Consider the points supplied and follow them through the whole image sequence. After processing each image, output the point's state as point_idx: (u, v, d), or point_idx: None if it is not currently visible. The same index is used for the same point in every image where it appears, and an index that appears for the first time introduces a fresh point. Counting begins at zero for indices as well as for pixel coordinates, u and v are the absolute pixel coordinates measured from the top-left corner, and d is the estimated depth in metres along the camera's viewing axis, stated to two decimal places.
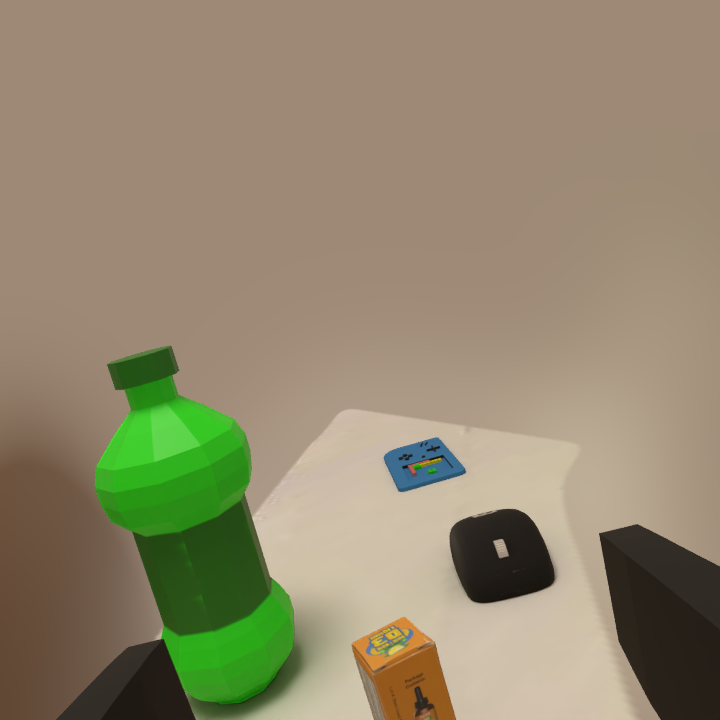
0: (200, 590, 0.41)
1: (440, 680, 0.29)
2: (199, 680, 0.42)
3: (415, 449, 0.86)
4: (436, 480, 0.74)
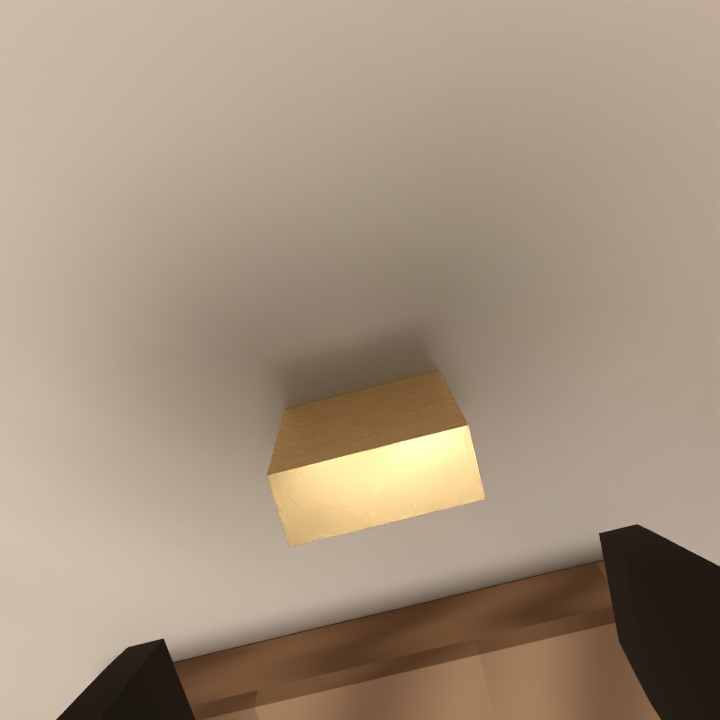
0: None
1: None
2: None
3: None
4: None
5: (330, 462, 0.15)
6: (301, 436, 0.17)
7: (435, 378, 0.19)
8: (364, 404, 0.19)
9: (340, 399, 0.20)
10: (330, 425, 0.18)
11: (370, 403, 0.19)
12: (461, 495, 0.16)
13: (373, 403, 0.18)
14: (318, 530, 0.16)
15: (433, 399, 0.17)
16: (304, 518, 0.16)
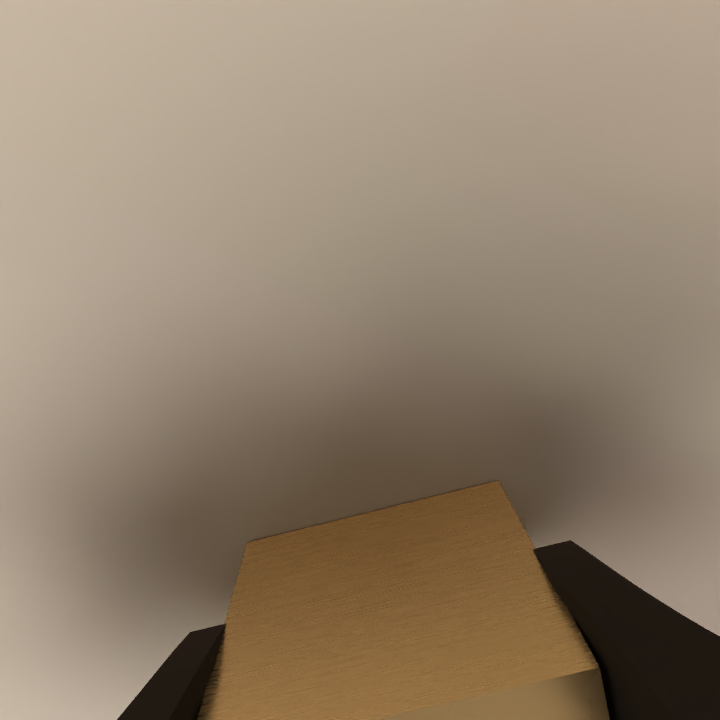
0: None
1: None
2: None
3: None
4: None
5: None
6: (264, 632, 0.10)
7: (496, 502, 0.11)
8: (378, 553, 0.11)
9: (337, 532, 0.12)
10: (318, 608, 0.10)
11: (387, 552, 0.11)
12: None
13: (394, 554, 0.11)
14: None
15: (504, 562, 0.10)
16: None
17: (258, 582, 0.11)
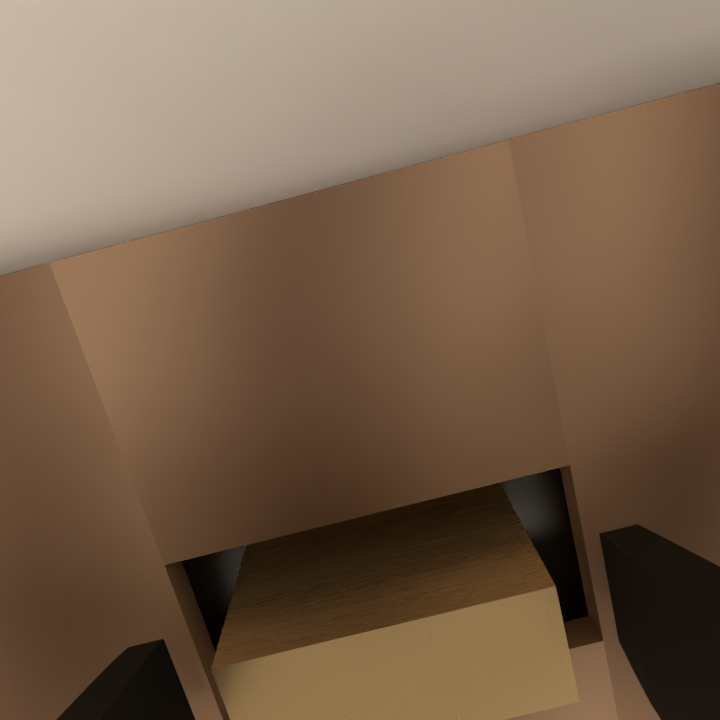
0: None
1: None
2: None
3: None
4: None
5: (318, 647, 0.09)
6: (275, 571, 0.11)
7: None
8: None
9: None
10: (322, 553, 0.11)
11: None
12: (540, 695, 0.09)
13: (387, 510, 0.12)
14: None
15: (482, 511, 0.11)
16: None
17: None
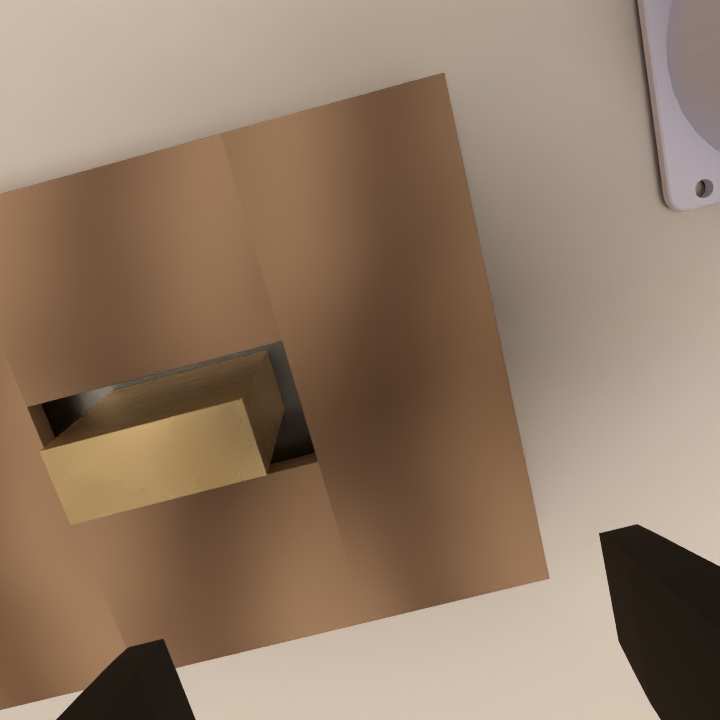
0: None
1: None
2: None
3: None
4: None
5: (103, 437, 0.15)
6: (101, 414, 0.17)
7: (257, 357, 0.19)
8: (179, 383, 0.18)
9: (164, 379, 0.19)
10: (134, 403, 0.17)
11: (183, 382, 0.18)
12: (241, 471, 0.15)
13: (186, 382, 0.18)
14: (98, 507, 0.15)
15: (237, 376, 0.17)
16: (83, 495, 0.15)
17: (109, 401, 0.18)
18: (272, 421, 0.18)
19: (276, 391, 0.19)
